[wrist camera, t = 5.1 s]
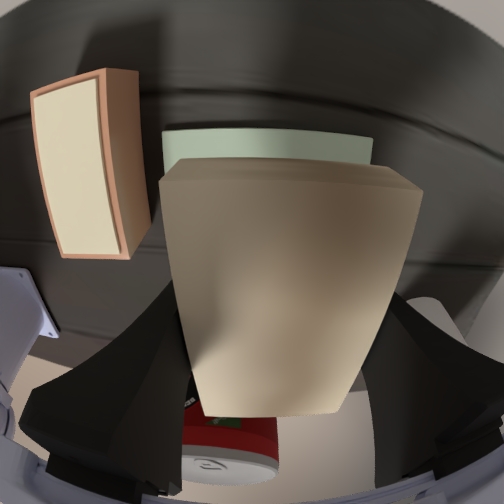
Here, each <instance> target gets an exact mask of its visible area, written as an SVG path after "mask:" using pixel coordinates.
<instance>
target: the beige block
mask: <svg viewBox="0 0 504 504" xmlns="http://www.w3.org/2000/svg"><path fill="white" fill-rule="evenodd" d="M159 191H160V199H161V207H162V215H163V223H164V230H165V237H166V243H167V250H168V256H169V262H170V268H171V274H172V279H173V285H174V290H175V295H176V300H177V305H178V310H179V315H180V320H181V325H182V329H183V334H184V338H185V342H186V347H187V351H188V355H189V359H190V363H191V367H192V371H193V375H194V379H195V383H196V386H197V390H198V394H199V397H200V401H201V404H202V408H203V411H204V414H205V416H214V417H286V416H303V415H315V414H325V413H334V412H337V411H338V409H339V407H340V406H341V404H342V402H343V400H344V399H345V397H346V395H347V393H348V391H349V389H350V388H351V386H352V384H353V382H354V380H355V378H356V376H357V374H358V372H359V370H360V368H361V366H362V364H363V362H364V360H365V358H366V356H367V354H368V352H369V350H370V348H371V345H372V343H373V341H374V339H375V337H376V334H377V332H378V330H379V327H380V325H381V323H382V320H383V318H384V315H385V313H386V311H387V308H388V305H389V303H390V300H391V298H392V295H393V292H394V290H395V287H396V284H397V281H398V279H399V276H400V273H401V270H402V267H403V264H404V261H405V258H406V255H407V252H408V248H409V245H410V242H411V238H412V235H413V231H414V228H415V224H416V220H417V216H418V213H419V209H420V205H421V200H422V196H423V192H424V191H422V190H421V189H419V188H418V187H417V186H415V185H414V184H413V183H411V182H410V181H408V180H407V179H405V178H404V177H402V176H401V175H400V174H398V173H397V172H395V171H394V170H392V169H391V168H389V167H385V166H377V165H369V164H359V163H349V162H339V161H326V160H312V159H293V158H264V157H212V158H183V159H179V160H178V161H177V162H176V163H175V165H174V166H173V167H172V168H171V169H170V170H169V171H168V172H167V173H166V174H165V175H164V176H163V177H162V178H161V179H160V180H159Z"/></svg>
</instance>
